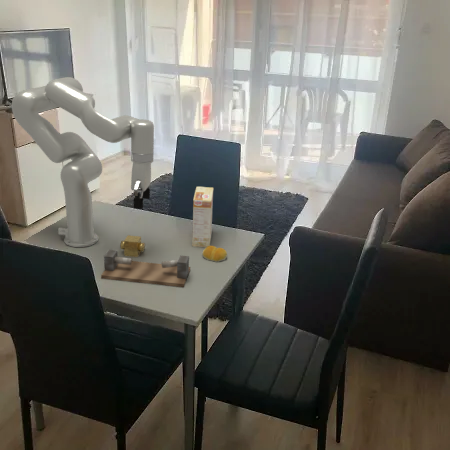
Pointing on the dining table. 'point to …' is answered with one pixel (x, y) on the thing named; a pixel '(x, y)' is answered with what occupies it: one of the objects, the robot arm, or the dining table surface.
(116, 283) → the dining table surface
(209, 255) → the bread roll
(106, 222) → the dining table surface
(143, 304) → the dining table surface
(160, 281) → the base
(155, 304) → the dining table surface
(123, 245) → the brass coupler
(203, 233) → the coffeecake box
